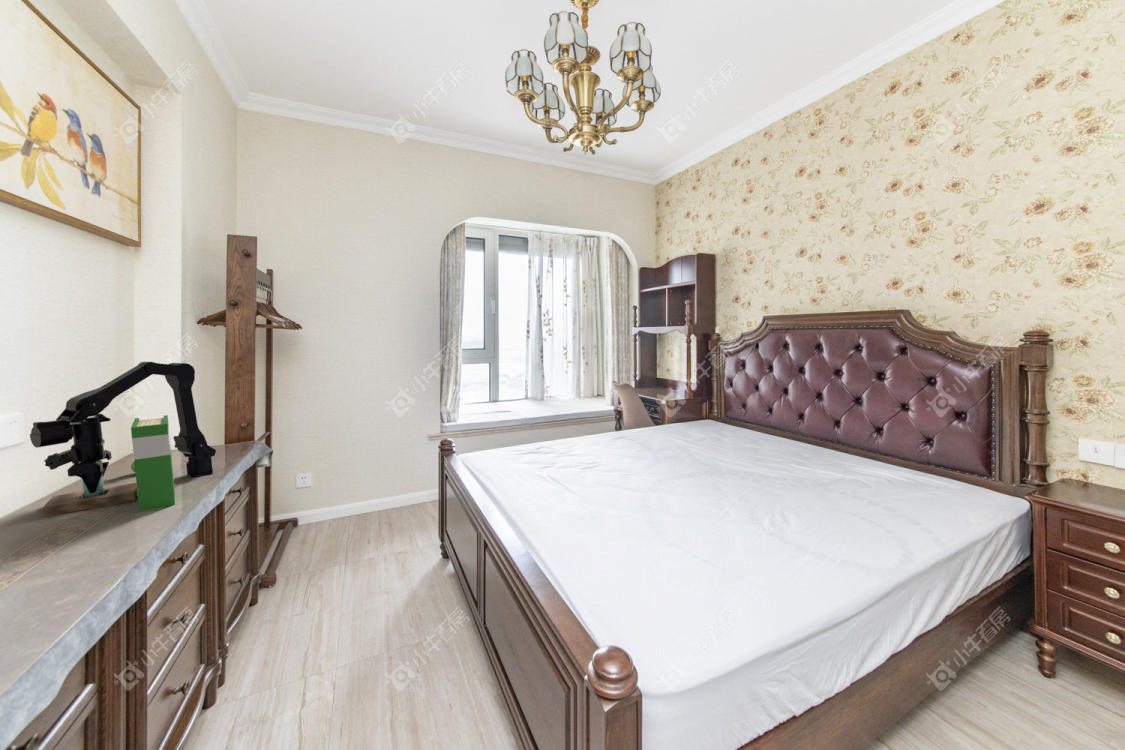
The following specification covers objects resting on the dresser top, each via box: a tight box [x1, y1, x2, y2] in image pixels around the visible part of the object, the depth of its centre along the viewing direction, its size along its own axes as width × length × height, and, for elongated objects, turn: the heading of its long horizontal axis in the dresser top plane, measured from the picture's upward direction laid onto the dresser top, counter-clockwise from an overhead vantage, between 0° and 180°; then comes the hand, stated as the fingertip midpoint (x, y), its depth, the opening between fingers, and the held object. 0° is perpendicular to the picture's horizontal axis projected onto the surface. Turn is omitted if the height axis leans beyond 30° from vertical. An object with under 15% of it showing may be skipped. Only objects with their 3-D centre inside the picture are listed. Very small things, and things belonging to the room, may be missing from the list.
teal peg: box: [81, 477, 105, 498], centre depth 128 cm, size 4×4×6 cm
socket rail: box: [41, 482, 138, 517], centre depth 128 cm, size 18×11×2 cm, turn 129°
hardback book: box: [130, 414, 176, 513], centre depth 129 cm, size 18×7×24 cm, turn 42°
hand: (94, 490), depth 128 cm, fingers closed on teal peg, 4 cm apart
